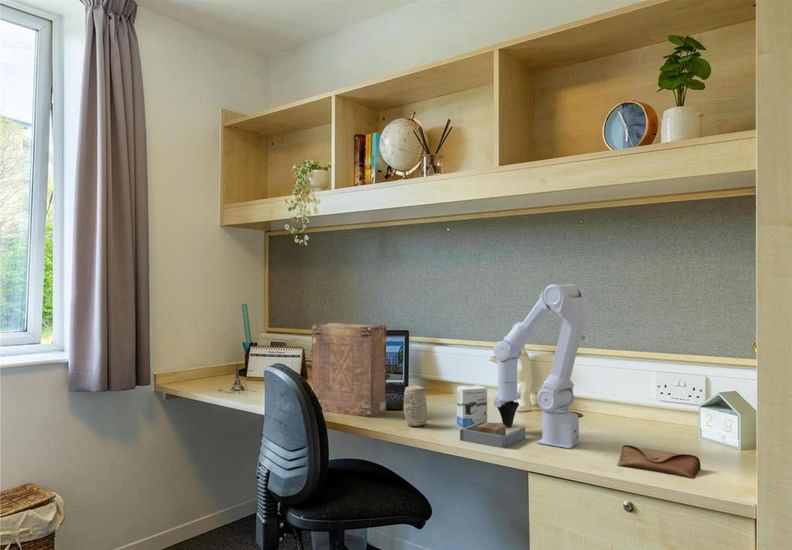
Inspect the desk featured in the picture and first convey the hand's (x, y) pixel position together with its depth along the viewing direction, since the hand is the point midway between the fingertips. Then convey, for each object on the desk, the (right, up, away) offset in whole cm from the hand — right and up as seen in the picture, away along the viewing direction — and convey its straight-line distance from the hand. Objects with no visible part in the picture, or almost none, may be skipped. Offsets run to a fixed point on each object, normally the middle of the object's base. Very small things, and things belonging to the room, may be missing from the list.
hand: (507, 427), depth 176 cm
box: (-5, -1, -7) cm, 9 cm away
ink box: (-9, -2, +9) cm, 13 cm away
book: (-50, -2, +29) cm, 58 cm away
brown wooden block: (-6, -2, -8) cm, 10 cm away
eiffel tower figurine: (-100, -3, +69) cm, 121 cm away
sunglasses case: (+29, -2, -34) cm, 45 cm away
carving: (-27, -2, +8) cm, 29 cm away
